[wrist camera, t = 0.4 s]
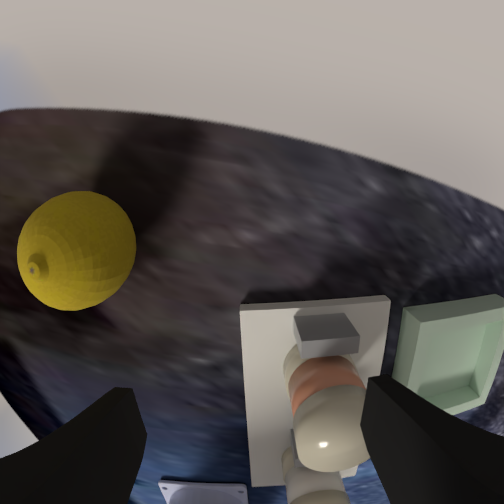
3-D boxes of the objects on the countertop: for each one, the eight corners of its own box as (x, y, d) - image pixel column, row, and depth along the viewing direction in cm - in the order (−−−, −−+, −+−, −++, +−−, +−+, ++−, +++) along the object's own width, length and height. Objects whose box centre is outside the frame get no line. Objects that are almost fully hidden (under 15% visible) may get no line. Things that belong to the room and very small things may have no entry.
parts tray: (470, 388, 21) (484, 403, 18) (383, 411, 21) (394, 431, 18) (495, 293, 19) (515, 304, 17) (403, 307, 19) (420, 322, 16)
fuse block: (352, 467, 22) (363, 499, 18) (251, 478, 22) (252, 513, 18) (384, 294, 19) (412, 320, 15) (240, 304, 19) (238, 335, 15)
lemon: (125, 170, 17) (45, 167, 9) (171, 253, 18) (119, 306, 10) (59, 218, 17) (-28, 243, 10) (101, 293, 18) (32, 354, 11)
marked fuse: (345, 387, 19) (378, 463, 12) (282, 394, 19) (295, 476, 12) (352, 332, 18) (396, 403, 11) (282, 338, 18) (299, 418, 11)
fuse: (331, 467, 21) (348, 533, 14) (280, 473, 21) (288, 542, 14) (337, 436, 20) (360, 507, 13) (281, 442, 20) (291, 518, 13)
